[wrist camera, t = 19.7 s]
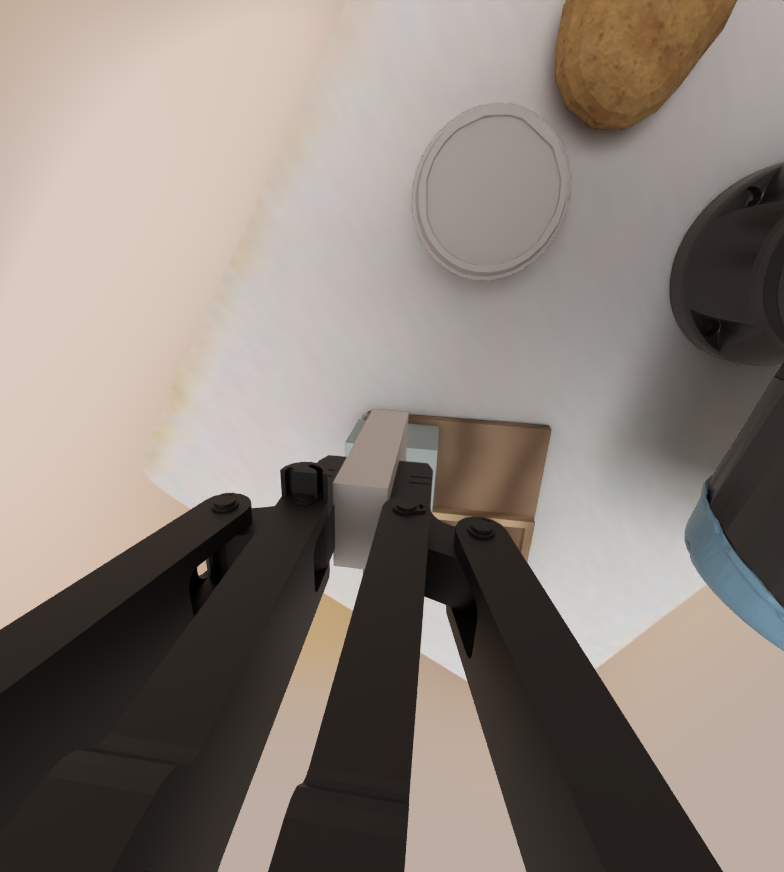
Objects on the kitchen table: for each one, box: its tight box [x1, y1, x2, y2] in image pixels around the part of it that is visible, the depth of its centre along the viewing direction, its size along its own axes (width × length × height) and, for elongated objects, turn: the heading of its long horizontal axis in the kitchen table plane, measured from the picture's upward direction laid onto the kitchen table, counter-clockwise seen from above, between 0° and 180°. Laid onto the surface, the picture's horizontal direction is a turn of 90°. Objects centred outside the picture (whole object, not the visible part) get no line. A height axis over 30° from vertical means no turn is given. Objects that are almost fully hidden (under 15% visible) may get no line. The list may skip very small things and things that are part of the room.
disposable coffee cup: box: [412, 103, 571, 280], centre depth 30 cm, size 10×10×12 cm
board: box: [363, 411, 551, 574], centre depth 44 cm, size 18×20×4 cm
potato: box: [555, 0, 737, 130], centre depth 27 cm, size 10×14×8 cm
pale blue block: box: [345, 419, 439, 512], centre depth 41 cm, size 8×8×6 cm
